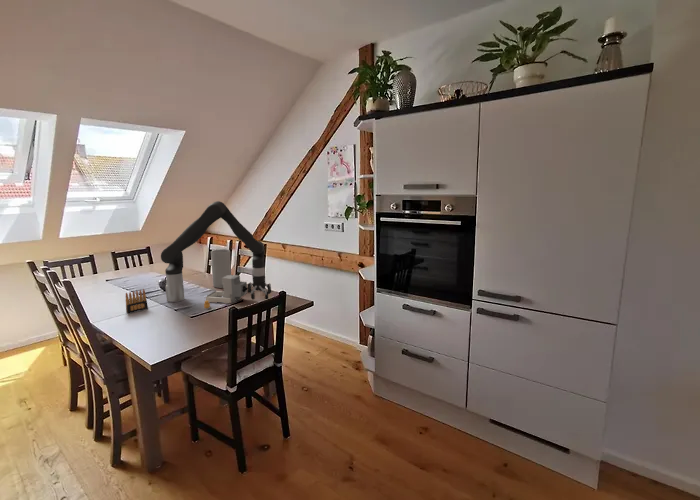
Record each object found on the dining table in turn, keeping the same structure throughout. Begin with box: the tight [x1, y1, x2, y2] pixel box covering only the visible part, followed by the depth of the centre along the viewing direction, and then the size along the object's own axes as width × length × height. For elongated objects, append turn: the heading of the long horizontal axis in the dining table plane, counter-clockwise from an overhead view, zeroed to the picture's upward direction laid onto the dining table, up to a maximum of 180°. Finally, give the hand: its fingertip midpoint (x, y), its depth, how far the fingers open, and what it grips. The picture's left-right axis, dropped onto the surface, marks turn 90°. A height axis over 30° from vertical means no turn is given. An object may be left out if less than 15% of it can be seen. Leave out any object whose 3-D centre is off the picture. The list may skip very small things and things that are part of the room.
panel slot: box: [205, 290, 232, 304], centre depth 224 cm, size 16×12×4 cm
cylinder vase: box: [210, 248, 232, 289], centre depth 251 cm, size 12×12×25 cm
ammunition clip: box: [125, 288, 149, 315], centre depth 203 cm, size 11×2×12 cm, turn 138°
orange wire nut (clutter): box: [203, 300, 211, 309], centre depth 210 cm, size 3×3×4 cm
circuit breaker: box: [222, 274, 248, 303], centre depth 222 cm, size 8×14×15 cm, turn 78°
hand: (259, 299), depth 220 cm, fingers open, 8 cm apart
